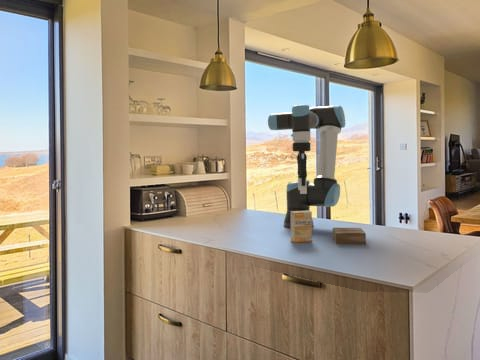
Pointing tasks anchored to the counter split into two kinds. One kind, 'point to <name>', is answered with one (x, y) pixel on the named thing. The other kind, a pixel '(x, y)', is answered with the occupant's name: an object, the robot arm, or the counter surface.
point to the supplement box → (301, 226)
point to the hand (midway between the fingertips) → (302, 191)
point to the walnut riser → (349, 236)
